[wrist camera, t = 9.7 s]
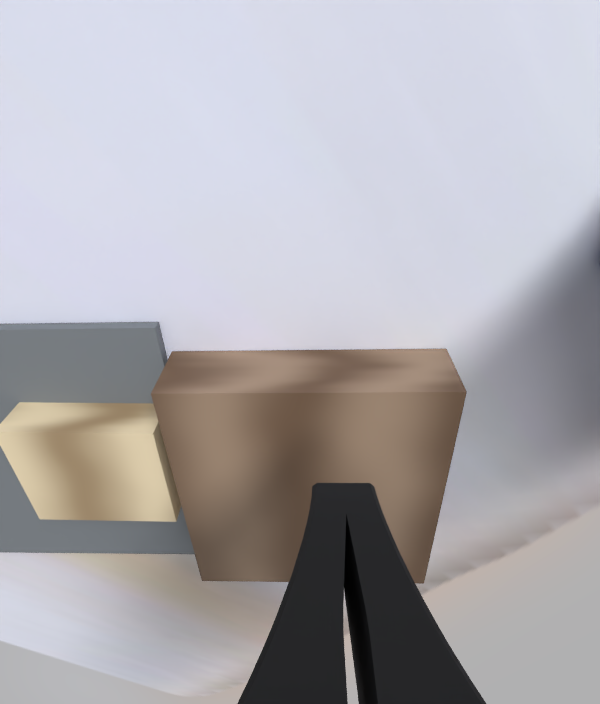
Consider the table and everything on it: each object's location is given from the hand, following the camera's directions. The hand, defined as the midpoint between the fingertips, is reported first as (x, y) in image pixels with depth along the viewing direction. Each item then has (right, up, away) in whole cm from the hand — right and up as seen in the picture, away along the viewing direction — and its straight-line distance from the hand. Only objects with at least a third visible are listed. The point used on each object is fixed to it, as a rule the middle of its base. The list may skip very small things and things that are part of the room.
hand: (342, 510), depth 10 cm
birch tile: (-11, -1, +12) cm, 16 cm away
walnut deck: (0, -2, +12) cm, 12 cm away
